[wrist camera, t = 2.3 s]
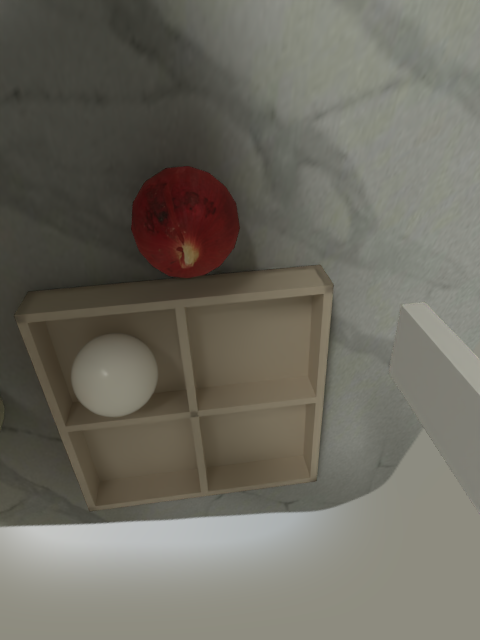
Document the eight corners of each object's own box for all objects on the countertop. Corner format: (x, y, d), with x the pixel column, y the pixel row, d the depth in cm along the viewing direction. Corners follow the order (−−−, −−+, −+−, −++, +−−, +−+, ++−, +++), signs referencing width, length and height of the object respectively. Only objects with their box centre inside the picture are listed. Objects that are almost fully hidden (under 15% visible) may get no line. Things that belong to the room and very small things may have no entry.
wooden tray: (95, 481, 39) (89, 511, 37) (28, 291, 28) (13, 315, 26) (307, 454, 41) (316, 481, 38) (320, 264, 30) (333, 284, 28)
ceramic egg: (89, 383, 33) (75, 440, 28) (71, 321, 29) (51, 373, 25) (164, 375, 33) (162, 429, 28) (153, 313, 30) (148, 363, 25)
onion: (116, 188, 26) (95, 238, 19) (197, 133, 25) (204, 166, 18) (174, 262, 29) (172, 328, 22) (248, 216, 28) (270, 271, 21)
